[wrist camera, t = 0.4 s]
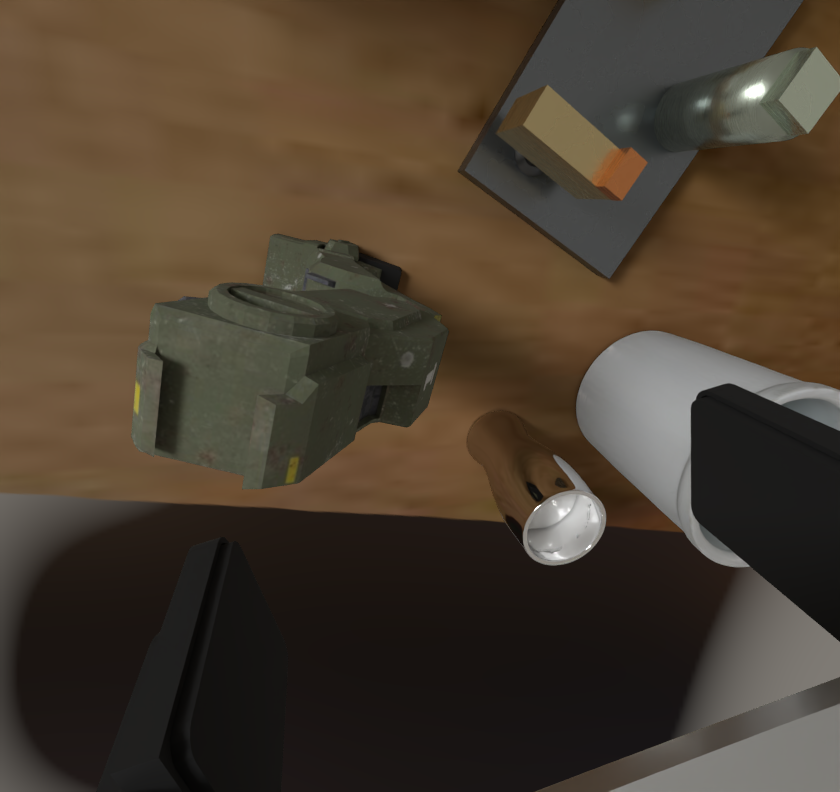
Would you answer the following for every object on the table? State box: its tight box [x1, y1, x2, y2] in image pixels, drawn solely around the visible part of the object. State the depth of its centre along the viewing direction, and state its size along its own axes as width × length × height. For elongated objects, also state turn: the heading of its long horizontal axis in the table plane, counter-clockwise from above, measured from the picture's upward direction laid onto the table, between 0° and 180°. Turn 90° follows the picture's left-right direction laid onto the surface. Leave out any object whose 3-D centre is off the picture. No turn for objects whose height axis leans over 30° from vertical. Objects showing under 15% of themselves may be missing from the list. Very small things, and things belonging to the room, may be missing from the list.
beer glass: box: [467, 411, 606, 565], centre depth 43 cm, size 7×7×15 cm
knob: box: [496, 85, 648, 201], centre depth 35 cm, size 8×3×8 cm, turn 58°
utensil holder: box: [576, 331, 840, 567], centre depth 44 cm, size 15×15×18 cm
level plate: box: [458, 0, 840, 279], centre depth 34 cm, size 16×26×13 cm, turn 148°
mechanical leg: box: [131, 234, 449, 489], centre depth 28 cm, size 14×7×30 cm, turn 75°
